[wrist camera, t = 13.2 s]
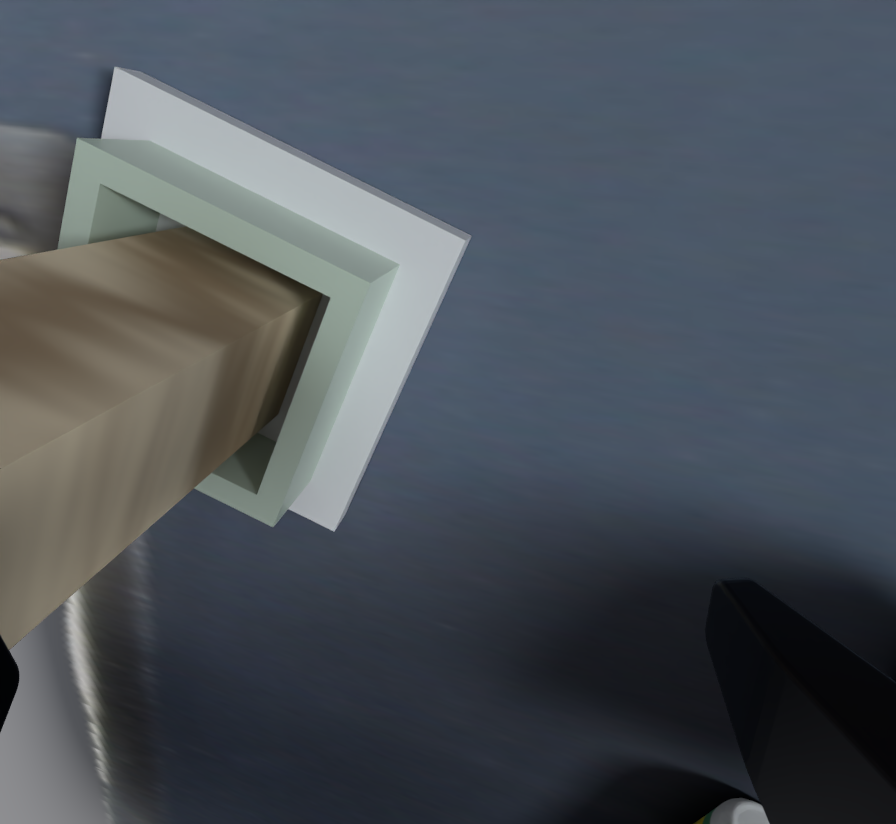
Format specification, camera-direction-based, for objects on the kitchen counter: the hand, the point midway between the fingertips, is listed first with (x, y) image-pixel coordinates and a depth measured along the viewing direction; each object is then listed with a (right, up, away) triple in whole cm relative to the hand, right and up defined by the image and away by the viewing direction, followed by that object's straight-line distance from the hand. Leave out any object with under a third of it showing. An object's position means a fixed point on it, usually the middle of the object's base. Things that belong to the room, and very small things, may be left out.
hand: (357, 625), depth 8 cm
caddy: (-5, +6, +13) cm, 15 cm away
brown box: (-6, +5, +12) cm, 15 cm away
